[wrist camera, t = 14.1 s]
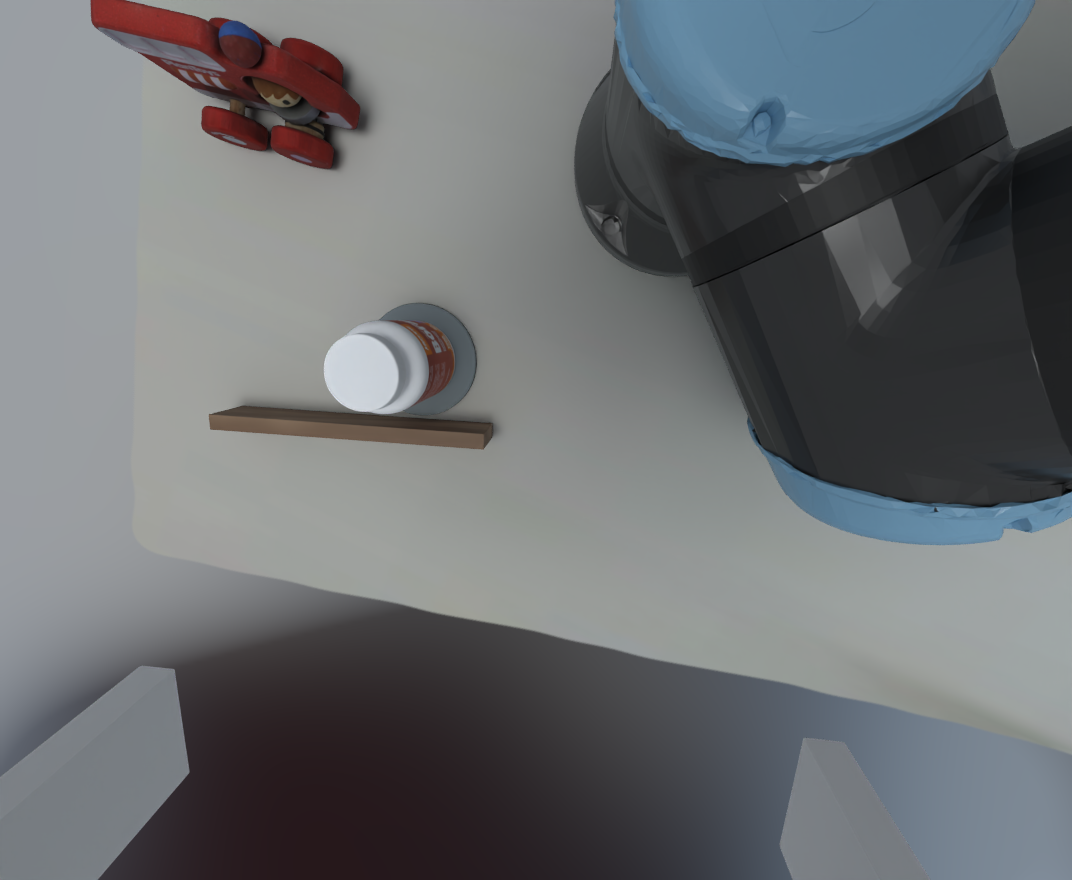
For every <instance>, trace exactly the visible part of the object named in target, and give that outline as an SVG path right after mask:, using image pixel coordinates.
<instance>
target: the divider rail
mask: <svg viewBox="0 0 1072 880" xmlns="http://www.w3.org/2000/svg"><path fill="white" fill-rule="evenodd" d="M209 421H210V429H212V430H225V431H239V432H253V433H266V434H280V435H293V436H307V437H321V438H334V439H348V440H362V441H375V442H389V443H402V444H416V445H430V446H443V447H457V448H471V449H484V448H485V447H486V445H487V444H488V442H489V441H490V440H491V438H492V429H493V423H479V422H465V421H451V420H436V419H422V418H407V417H393V416H379V415H364V414H350V413H336V412H321V411H307V410H293V409H278V408H264V407H250V406H240V407H236V408H232V409H229V410H225V411H221V412H217V413H213V414H209Z"/></svg>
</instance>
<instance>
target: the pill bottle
mask: <svg viewBox="0 0 1072 880" xmlns="http://www.w3.org/2000/svg"><path fill="white" fill-rule="evenodd" d="M454 369H455V355H454V350H453V347H452V345H451V343H450V341H449V339H448V338H447V336H446V335H445V334H444V333H443V332H442V331H441V330H440V329H438V328H437V327H436V326H434V325H432V324H430V323H427V322H423V321H417V320H378V321H370V322H366V323H363V324H360V325H358V326H356V327H355V328H353V329H352V330H351V331H349V332H348V333H347V334H346V335H345V336H344V337H342V338H341V339H339V340H338V341H337V342H335V343H334V344H333V345H332V347H331V348H330V349H329V351H328V353H327V355H326V358H325V362H324V377H325V381H326V384H327V387H328V389H329V391H330V392H331V394H332V395H333V396H334V398H335V399H336V400H337V401H338V402H340V403H341V404H342V405H344V406H345V407H347V408H349V409H352V410H355V411H360V412H372V413H376V414H392V413H397V412H400V411H403V410H405V409H408V408H410V407H412V406H414V405H416V404H418V403H420V402H422V401H424V400H426V399H428V398H430V397H432V396H434V395H436V394H437V393H439V392H440V391H442V390H443V389H444V388H445V387H446V386H447V385H448V383H449V382H450V380H451V378H452V376H453V373H454Z"/></svg>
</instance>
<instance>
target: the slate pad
mask: <svg viewBox="0 0 1072 880" xmlns="http://www.w3.org/2000/svg"><path fill="white" fill-rule="evenodd" d="M380 320H417V321H423V322H427V323H430V324H432V325H434V326H436V327H437V328H438V329H440V330H441V331H442V332H443V333H444V334H445V335H446V336H447V338H448V339H449V341H450V343H451V345H452V347H453V350H454V355H455V369H454V373H453V376H452V378H451V380H450V382H449V383H448V385H447V386H446V387H445V388H444V389H443V390H442V391H440V392H439V393H437V394H436V395H434V396H432V397H430V398H428V399H426V400H424V401H422V402H420V403H418V404H416V405H414V406H412V407H410V408H408V409H405V410H403V411H404V412H407V413H410V414H415V415H433V414H437V413H441V412H443V411H446V410H448V409H449V408H451V407H453V406H454V405H456V404H457V403H458V402H459V401H460V400H461V399H462V398H463V397H464V396H465V395H466V393H467V392H468V391H469V389H470V387H471V385H472V382H473V380H474V376H475V372H476V353H475V348H474V344H473V341H472V339H471V337H470V335H469V333H468V331H467V330H466V328H465V327H464V326H463V324H462V323H461V322H460V321H459V320H458V319H457V318H456V317H455V316H453V315H452V314H451V313H449V312H448V311H446V310H444V309H442V308H439V307H437V306H433V305H430V304H422V303H412V304H406V305H402V306H399V307H397V308H395V309H393V310H391V311H389V312H388V313H386V314H385V315H384V316H383V317H382V318H381V319H380Z"/></svg>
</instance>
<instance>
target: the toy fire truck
mask: <svg viewBox="0 0 1072 880" xmlns="http://www.w3.org/2000/svg"><path fill="white" fill-rule="evenodd" d="M91 20H92V23H93V25H94V26H95V27H96V28H97V29H98V30H99V31H101V32H103V33H104V34H105V35H107V36H108V37H110V38H112V39H113V40H115V41H116V42H118V43H120V44H121V45H123V46H125V47H127V48H129V49H132V50H134V51H136V52H138V53H140V54H142V55H143V56H145V57H146V58H148V59H149V60H151V61H152V62H154V63H155V64H157V65H158V66H160V67H161V68H163V69H164V70H166V71H167V72H169V73H170V74H172V75H173V76H175V77H176V78H178V79H179V80H181V81H183V82H184V83H186V84H187V85H189V86H190V87H192V88H193V89H195V90H196V91H198V92H200V93H202V94H204V95H207V96H210V97H213V98H218V99H221V100H226V101H230V111H229V110H226V109H223V108H218V107H212V106H205V107H204V108H203V109H202V122H201V125H202V129H203V130H204V131H205V132H206V133H208V134H210V135H211V136H213V137H216V138H218V139H220V140H223V141H225V142H228V143H231V144H234V145H237V146H241V147H244V148H248V149H252V150H258V151H263V150H265V149H266V148H267V138H268V131H267V129H266V128H265V127H264V126H263V125H262V124H260V123H258V122H256V121H254V120H252V119H250V118H248V117H246V116H245V107H248V108H253V107H256V108H261V109H265V110H270V111H273V112H276V113H277V114H278V115H279V116H280V117H282V118H283V119H284V120H285V126H281V125H277V126H273V128H272V131H271V132H272V133H271V142H270V144H271V148H272V149H273V150H274V151H276V152H277V153H279V154H281V155H283V156H285V157H287V158H289V159H292V160H295V161H297V162H300V163H303V164H306V165H309V166H313V167H317V168H323V169H330V167H331V166H332V162H333V154H334V150H333V147H332V146H331V145H330V144H329V143H328V142H326V141H325V140H323V137H324V136H325V134H324V127H323V123H326V124H330V125H333V126H338V127H342V128H347V129H355V128H356V127H357V125H358V119H359V114H360V106H359V104H358V103H357V102H356V101H355V100H354V99H353V98H352V97H351V96H350V95H349V94H348V93H347V92H346V91H345V90H344V88H343V87H341V86H342V79H343V66H342V64H341V62H340V61H339V60H338V59H337V58H336V57H335V56H334V55H332V54H331V53H329V52H328V51H326V50H324V49H323V48H321V47H319V46H317V45H315V44H313V43H310V42H307V41H304V40H302V39H296V38H286V39H283V40H282V42H281V45H280V48H279V47H276V46H274V45H272V43H271V42H270V41H269V40H267V39H266V38H265V37H263V36H262V35H261V34H259V33H258V32H256V31H255V30H253V29H251V28H249V27H248V26H246V25H245V24H243V23H241V22H238V21H232V20H229V19H225V18H211V19H210V20H209V22H208V21H206V20H204V19H202V18H199V17H196V16H192V15H187V14H184V13H179V12H175V11H170V10H166V9H161V8H157V7H152V6H147V5H144V4H139V3H135V2H130V1H126V0H91Z"/></svg>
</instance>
